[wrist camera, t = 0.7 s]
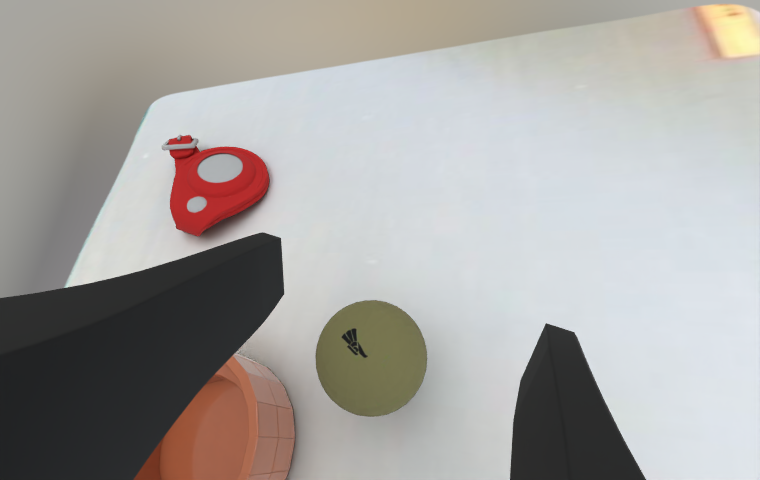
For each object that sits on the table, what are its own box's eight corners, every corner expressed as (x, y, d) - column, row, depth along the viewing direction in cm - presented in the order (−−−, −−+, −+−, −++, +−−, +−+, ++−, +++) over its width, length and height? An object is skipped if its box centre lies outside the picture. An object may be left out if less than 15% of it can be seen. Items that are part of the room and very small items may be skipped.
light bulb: (339, 391, 26) (273, 363, 17) (384, 321, 28) (344, 264, 19) (408, 443, 24) (372, 441, 15) (453, 364, 25) (443, 321, 17)
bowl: (238, 589, 22) (174, 628, 17) (112, 490, 26) (32, 500, 21) (326, 396, 26) (294, 385, 21) (205, 336, 30) (156, 315, 25)
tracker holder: (284, 149, 36) (225, 225, 30) (289, 183, 40) (236, 257, 34) (171, 114, 38) (93, 180, 32) (185, 150, 41) (117, 215, 35)
